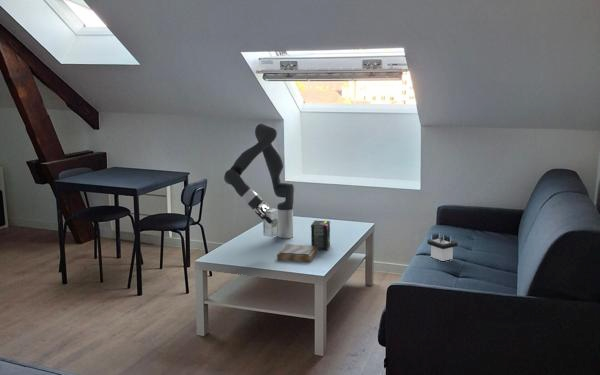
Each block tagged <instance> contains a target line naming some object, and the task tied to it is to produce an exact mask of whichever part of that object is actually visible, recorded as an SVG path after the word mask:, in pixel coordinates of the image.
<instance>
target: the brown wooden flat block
mask: <svg viewBox="0 0 600 375" xmlns="http://www.w3.org/2000/svg"><path fill="white" fill-rule="evenodd" d="M276 254H277V256H276V258H277V261H285V262H286V261H287V262H297V263H298V262H299V263H301V262H302V263H311V262H312V261H313V259H314V258H315V257H316V255H317V254H318V250H317V246H311V245H309V244H308V245H307V244H294V243H293V244H291V243H286V244H285V245H284V246H283V247H282V248H281V249H280V251H278V253H276Z"/></svg>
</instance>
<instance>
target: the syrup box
mask: <svg viewBox="0 0 600 375" xmlns="http://www.w3.org/2000/svg"><path fill="white" fill-rule="evenodd" d="M265 211H266V214H267V216H268V217H269V218H270V219H271V220H272V223H271V224H269V223H268V222H267V221H266V220H265V219H262V220H263V221H262V223H263V228H262V229H263V236H264V237H268V238H270V237H271V238H273V237H275V236H277V235H278V210H277V208H273V207H270V208H268V209H266V210H265Z"/></svg>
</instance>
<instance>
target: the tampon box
mask: <svg viewBox="0 0 600 375" xmlns="http://www.w3.org/2000/svg"><path fill="white" fill-rule="evenodd" d="M310 226H311V227H310V230H311V233H310V234H311V235H310V237H311V240H310V241H311V246H317V251H326V252H327V251H328V250H329V248H330V246H331V244H330V243H331V221H330V220H314V221H313V222H312V223H311V225H310Z"/></svg>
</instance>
